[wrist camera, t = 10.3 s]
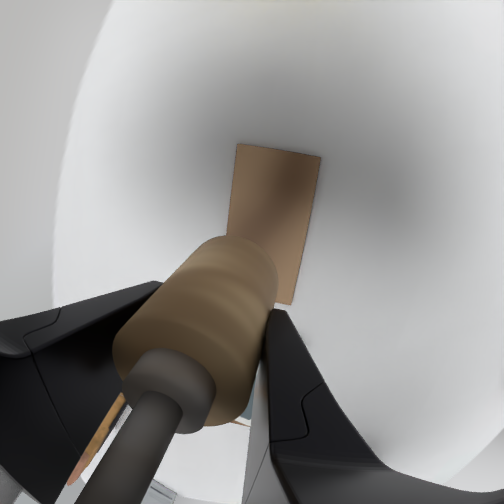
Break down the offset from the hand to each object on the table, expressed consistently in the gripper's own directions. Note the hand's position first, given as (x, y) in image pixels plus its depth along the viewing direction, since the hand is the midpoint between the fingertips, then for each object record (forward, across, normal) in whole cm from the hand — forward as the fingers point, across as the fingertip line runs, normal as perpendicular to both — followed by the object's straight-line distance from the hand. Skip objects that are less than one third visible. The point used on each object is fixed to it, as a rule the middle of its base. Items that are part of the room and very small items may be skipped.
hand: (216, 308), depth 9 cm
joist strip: (+11, 0, +8) cm, 14 cm away
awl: (+2, 0, 0) cm, 2 cm away
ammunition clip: (+12, +15, +27) cm, 33 cm away
